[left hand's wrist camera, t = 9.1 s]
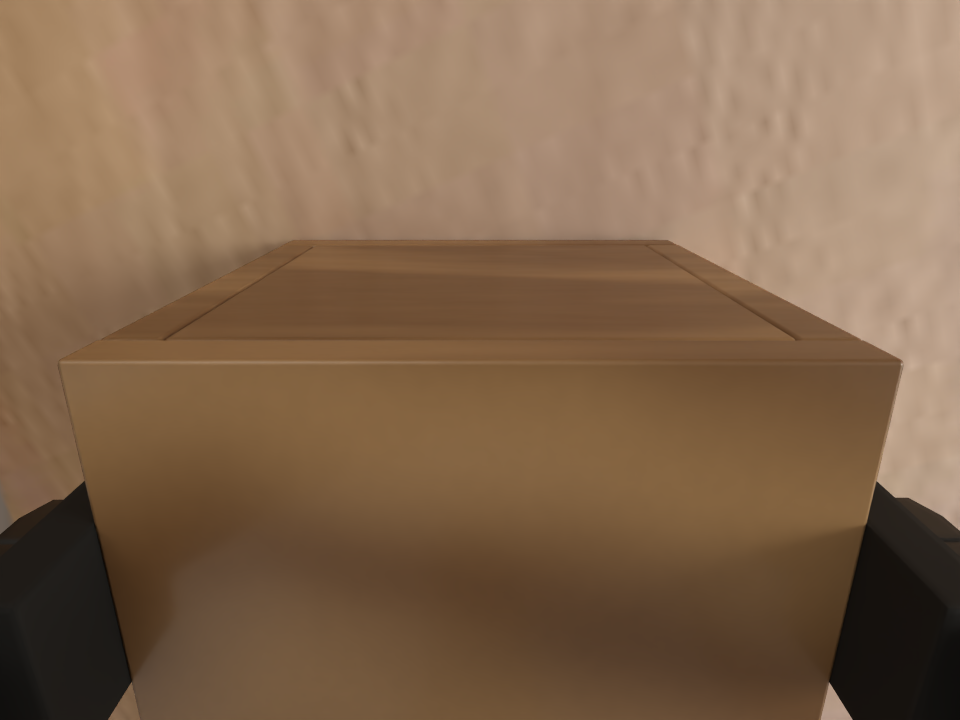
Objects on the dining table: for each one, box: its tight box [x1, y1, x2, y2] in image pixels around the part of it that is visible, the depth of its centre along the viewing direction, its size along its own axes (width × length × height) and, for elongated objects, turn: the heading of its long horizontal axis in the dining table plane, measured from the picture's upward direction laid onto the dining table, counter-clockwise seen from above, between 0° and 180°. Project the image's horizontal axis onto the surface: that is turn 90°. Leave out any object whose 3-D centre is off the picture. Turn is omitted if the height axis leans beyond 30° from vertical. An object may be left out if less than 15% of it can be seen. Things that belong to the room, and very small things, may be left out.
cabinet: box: [58, 240, 903, 720], centre depth 15 cm, size 19×10×10 cm, turn 0°
